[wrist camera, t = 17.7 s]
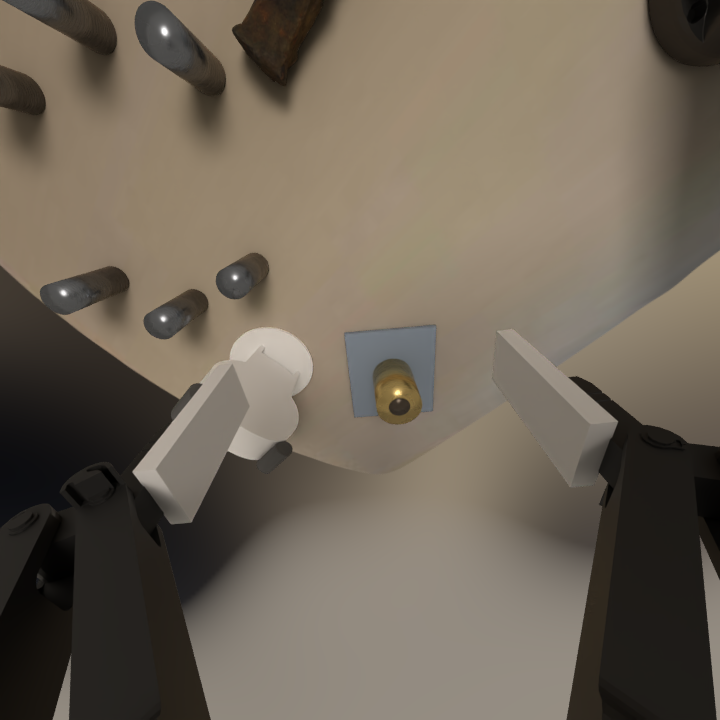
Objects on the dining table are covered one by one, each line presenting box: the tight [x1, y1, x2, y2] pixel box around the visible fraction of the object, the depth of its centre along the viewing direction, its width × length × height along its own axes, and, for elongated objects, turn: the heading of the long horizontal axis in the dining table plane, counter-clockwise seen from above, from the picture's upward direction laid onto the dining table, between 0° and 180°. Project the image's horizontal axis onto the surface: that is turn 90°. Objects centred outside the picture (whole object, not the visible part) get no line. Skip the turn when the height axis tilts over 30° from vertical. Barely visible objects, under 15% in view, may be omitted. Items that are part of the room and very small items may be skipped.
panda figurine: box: [171, 327, 313, 474], centre depth 35 cm, size 12×11×15 cm
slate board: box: [345, 325, 436, 417], centre depth 43 cm, size 12×14×1 cm
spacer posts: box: [0, 0, 269, 339], centre depth 28 cm, size 20×27×8 cm
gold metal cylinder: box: [373, 359, 422, 424], centre depth 39 cm, size 6×6×7 cm
